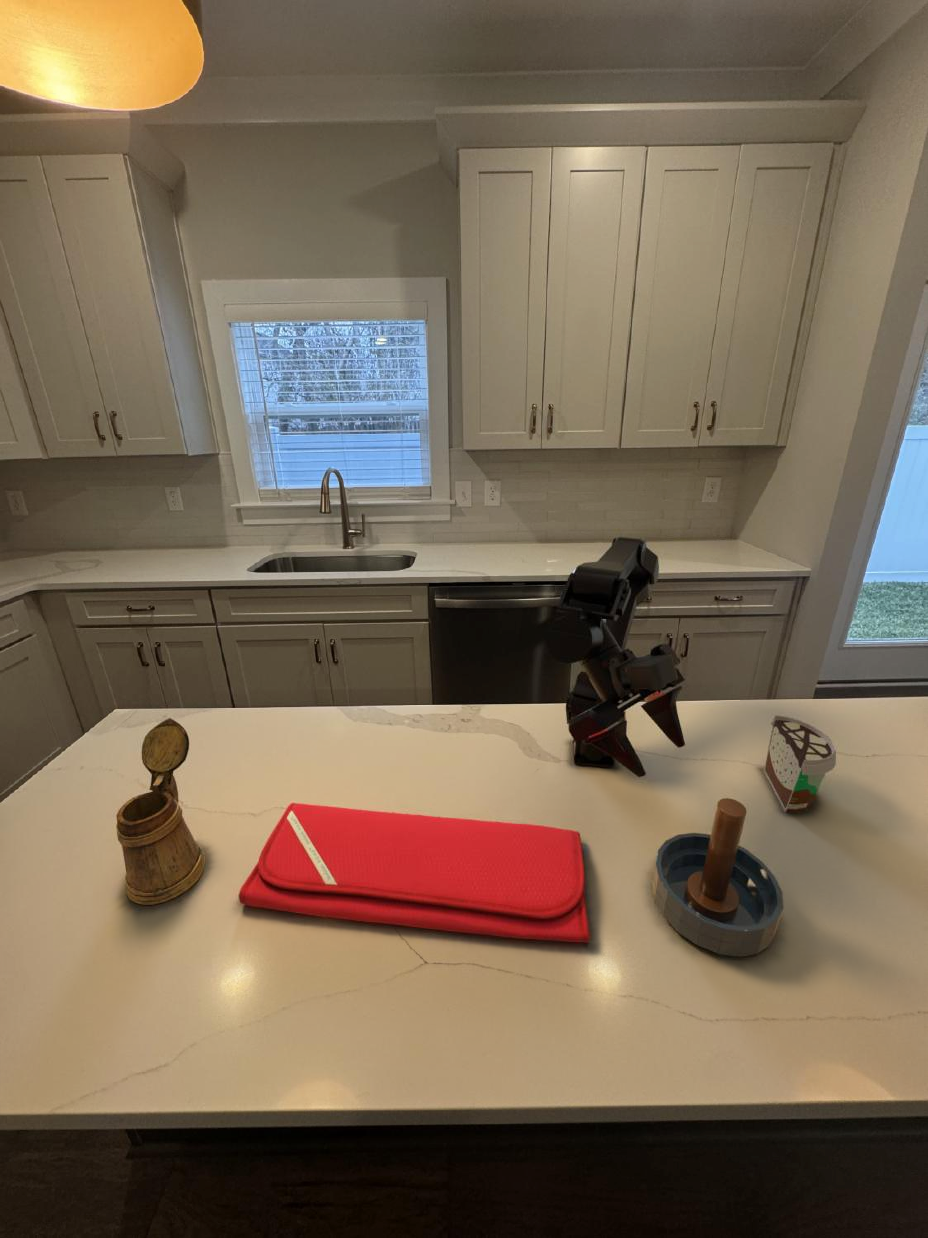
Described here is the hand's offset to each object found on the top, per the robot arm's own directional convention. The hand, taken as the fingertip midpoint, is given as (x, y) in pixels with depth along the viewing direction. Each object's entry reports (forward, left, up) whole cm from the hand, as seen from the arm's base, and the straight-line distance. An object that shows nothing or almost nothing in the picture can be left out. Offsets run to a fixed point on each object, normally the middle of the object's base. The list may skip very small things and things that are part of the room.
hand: (663, 760), depth 65 cm
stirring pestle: (+5, -10, -12) cm, 16 cm away
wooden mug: (-63, -14, -13) cm, 66 cm away
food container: (+23, +12, -13) cm, 29 cm away
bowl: (+5, -10, -13) cm, 17 cm away
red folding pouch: (-30, -11, -13) cm, 34 cm away
